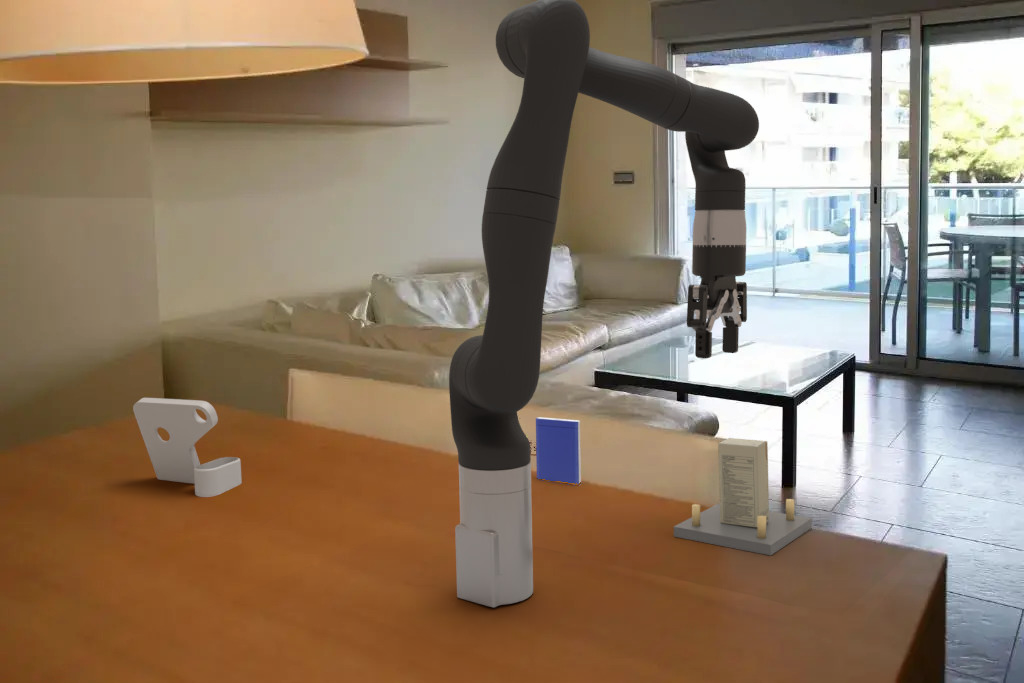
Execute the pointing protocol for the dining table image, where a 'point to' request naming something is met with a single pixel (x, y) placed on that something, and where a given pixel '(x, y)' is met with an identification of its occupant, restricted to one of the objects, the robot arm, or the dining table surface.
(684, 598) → the dining table surface
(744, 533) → the standoff plate
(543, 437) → the hard drive
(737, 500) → the skincare box
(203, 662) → the dining table surface
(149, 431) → the phone holder
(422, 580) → the dining table surface
